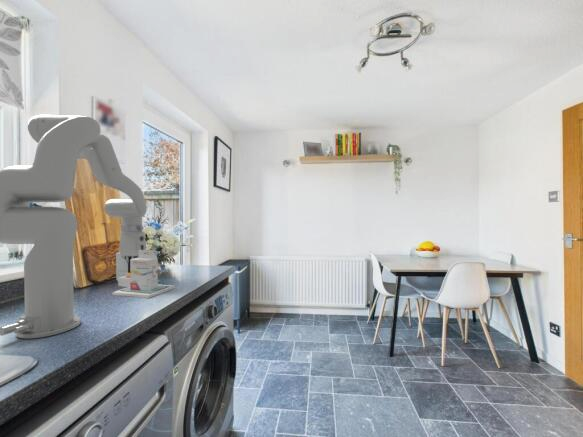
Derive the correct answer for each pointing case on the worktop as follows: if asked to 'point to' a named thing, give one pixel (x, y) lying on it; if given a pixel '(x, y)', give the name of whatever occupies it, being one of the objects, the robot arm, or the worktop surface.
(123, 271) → the supplement box
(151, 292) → the picture board
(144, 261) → the ink cartridge box
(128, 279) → the button housing
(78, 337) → the worktop surface
